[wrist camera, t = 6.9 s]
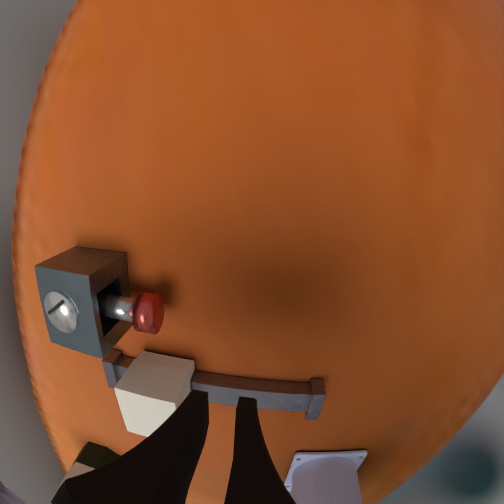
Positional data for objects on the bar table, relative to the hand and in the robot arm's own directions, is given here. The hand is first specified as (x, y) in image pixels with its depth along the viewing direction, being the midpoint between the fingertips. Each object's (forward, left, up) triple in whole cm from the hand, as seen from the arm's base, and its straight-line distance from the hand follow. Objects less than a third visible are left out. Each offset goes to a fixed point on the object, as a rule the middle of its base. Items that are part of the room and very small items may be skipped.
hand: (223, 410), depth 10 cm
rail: (-8, +3, -10) cm, 13 cm away
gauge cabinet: (0, +12, -10) cm, 15 cm away
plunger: (0, +8, -8) cm, 11 cm away
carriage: (-8, +6, -10) cm, 14 cm away
